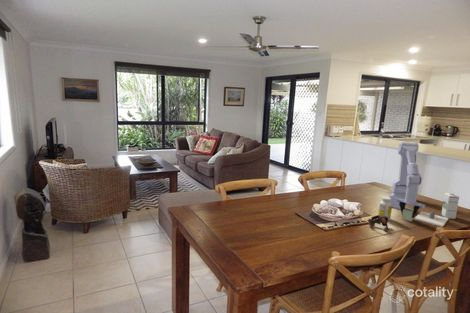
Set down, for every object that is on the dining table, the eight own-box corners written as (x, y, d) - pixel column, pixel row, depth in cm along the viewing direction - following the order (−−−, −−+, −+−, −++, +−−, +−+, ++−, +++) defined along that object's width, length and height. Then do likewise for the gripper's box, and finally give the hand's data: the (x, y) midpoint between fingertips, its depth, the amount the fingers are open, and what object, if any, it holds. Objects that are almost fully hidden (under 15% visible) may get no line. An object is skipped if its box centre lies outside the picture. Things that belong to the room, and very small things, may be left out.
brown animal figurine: (384, 235, 150) (377, 220, 151) (369, 235, 158) (362, 222, 159) (396, 224, 156) (389, 211, 157) (381, 225, 164) (374, 212, 165)
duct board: (414, 219, 171) (415, 212, 170) (421, 212, 182) (422, 206, 181) (442, 227, 161) (444, 219, 161) (448, 219, 173) (449, 212, 172)
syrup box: (455, 219, 174) (460, 196, 171) (444, 218, 175) (449, 195, 172) (450, 215, 180) (455, 193, 177) (440, 214, 181) (444, 192, 178)
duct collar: (401, 218, 171) (403, 209, 170) (404, 216, 175) (405, 207, 174) (410, 221, 168) (412, 212, 167) (413, 219, 171) (414, 209, 170)
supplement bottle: (389, 217, 173) (392, 197, 171) (391, 221, 167) (394, 200, 165) (377, 215, 175) (379, 195, 173) (378, 219, 169) (381, 198, 167)
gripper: (395, 192, 170) (392, 214, 173) (423, 199, 160) (420, 221, 163) (399, 190, 175) (396, 211, 178) (427, 196, 165) (423, 218, 168)
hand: (407, 216), depth 171 cm, fingers closed on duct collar, 5 cm apart
